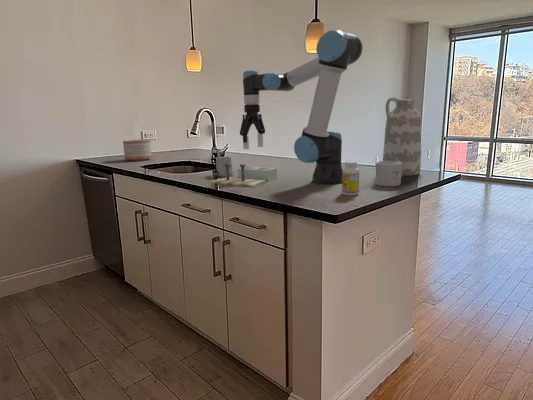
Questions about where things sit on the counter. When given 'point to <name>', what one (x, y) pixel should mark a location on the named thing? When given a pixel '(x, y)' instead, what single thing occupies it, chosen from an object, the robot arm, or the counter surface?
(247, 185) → the board
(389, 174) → the mug
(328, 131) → the robot arm
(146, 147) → the planter
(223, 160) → the mug
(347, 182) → the supplement bottle
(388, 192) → the counter surface
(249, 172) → the pale green block
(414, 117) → the vase
